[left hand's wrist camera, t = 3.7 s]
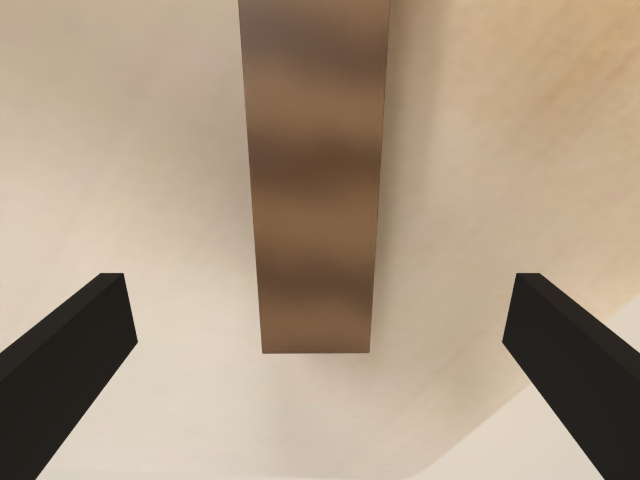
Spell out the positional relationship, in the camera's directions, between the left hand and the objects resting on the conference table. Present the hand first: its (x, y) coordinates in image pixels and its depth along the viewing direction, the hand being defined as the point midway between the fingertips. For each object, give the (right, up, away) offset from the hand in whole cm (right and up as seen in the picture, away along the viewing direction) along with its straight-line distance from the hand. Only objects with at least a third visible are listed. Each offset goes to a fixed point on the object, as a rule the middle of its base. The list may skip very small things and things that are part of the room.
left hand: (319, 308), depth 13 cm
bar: (0, +29, +3) cm, 29 cm away
